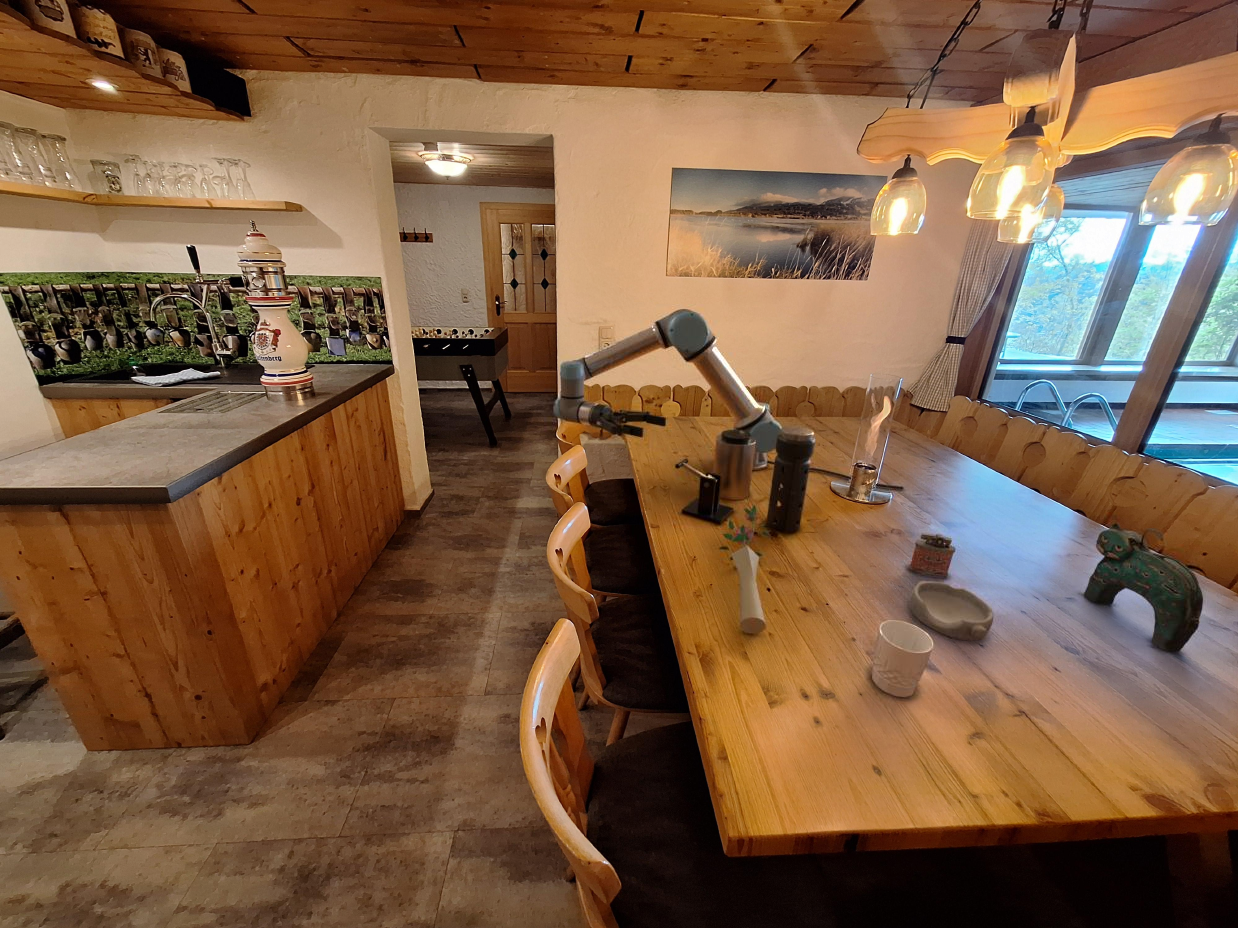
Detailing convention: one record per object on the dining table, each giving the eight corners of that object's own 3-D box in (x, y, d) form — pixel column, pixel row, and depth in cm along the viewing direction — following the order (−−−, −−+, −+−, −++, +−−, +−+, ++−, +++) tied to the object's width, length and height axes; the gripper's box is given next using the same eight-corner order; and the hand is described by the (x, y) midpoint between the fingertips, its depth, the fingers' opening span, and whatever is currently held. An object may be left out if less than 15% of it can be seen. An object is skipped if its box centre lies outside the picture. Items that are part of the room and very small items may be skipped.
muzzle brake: (805, 536, 131) (796, 518, 141) (822, 437, 121) (811, 425, 131) (769, 534, 132) (762, 516, 142) (783, 435, 122) (774, 424, 131)
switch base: (681, 513, 143) (684, 476, 138) (696, 501, 150) (699, 466, 146) (720, 525, 137) (724, 486, 132) (733, 511, 144) (737, 475, 140)
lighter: (945, 571, 116) (956, 535, 113) (949, 579, 113) (960, 542, 110) (907, 565, 119) (917, 529, 115) (910, 572, 116) (920, 535, 112)
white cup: (858, 666, 88) (869, 620, 84) (900, 664, 88) (913, 618, 85) (884, 701, 80) (898, 653, 77) (929, 699, 81) (945, 651, 77)
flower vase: (730, 655, 100) (722, 539, 129) (792, 650, 96) (770, 531, 125) (717, 617, 94) (712, 504, 123) (783, 611, 91) (762, 496, 119)
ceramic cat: (1071, 590, 110) (1105, 510, 103) (1100, 591, 110) (1136, 511, 103) (1159, 654, 92) (1207, 562, 85) (1194, 655, 92) (1246, 564, 84)
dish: (990, 653, 91) (998, 631, 89) (905, 626, 98) (911, 605, 96) (985, 611, 103) (992, 591, 101) (910, 589, 109) (915, 570, 108)
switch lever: (673, 468, 142) (676, 461, 141) (682, 462, 147) (685, 456, 145) (708, 490, 138) (712, 484, 136) (717, 484, 142) (720, 477, 141)
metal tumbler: (705, 493, 156) (710, 435, 149) (719, 481, 165) (725, 426, 158) (741, 503, 150) (748, 442, 143) (754, 490, 159) (761, 432, 152)
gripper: (617, 418, 167) (673, 429, 156) (572, 436, 147) (631, 450, 137) (618, 396, 164) (674, 406, 153) (571, 412, 145) (632, 424, 134)
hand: (654, 427), depth 145 cm, fingers open, 13 cm apart
